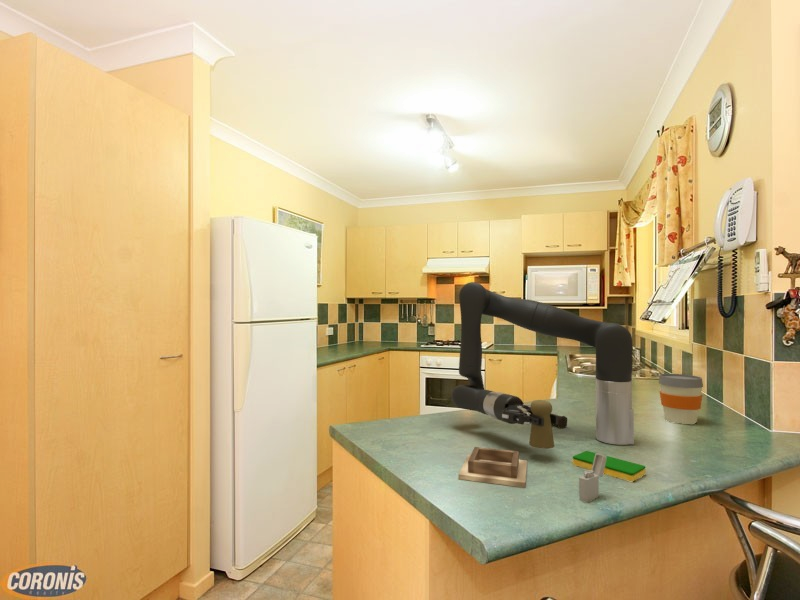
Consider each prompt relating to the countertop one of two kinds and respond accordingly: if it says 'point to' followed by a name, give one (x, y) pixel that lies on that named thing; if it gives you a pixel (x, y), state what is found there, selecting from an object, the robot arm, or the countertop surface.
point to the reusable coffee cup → (680, 397)
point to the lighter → (592, 479)
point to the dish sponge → (611, 466)
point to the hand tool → (561, 422)
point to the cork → (544, 434)
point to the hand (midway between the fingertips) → (549, 421)
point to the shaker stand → (494, 467)
